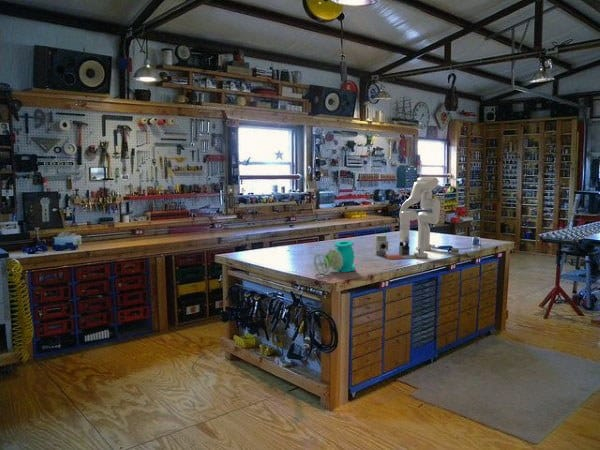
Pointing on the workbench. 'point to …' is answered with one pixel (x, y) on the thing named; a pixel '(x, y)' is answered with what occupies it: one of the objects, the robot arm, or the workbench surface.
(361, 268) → the workbench surface
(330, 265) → the valve
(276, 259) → the workbench surface
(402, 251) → the socket
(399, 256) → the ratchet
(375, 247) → the circuit breaker
